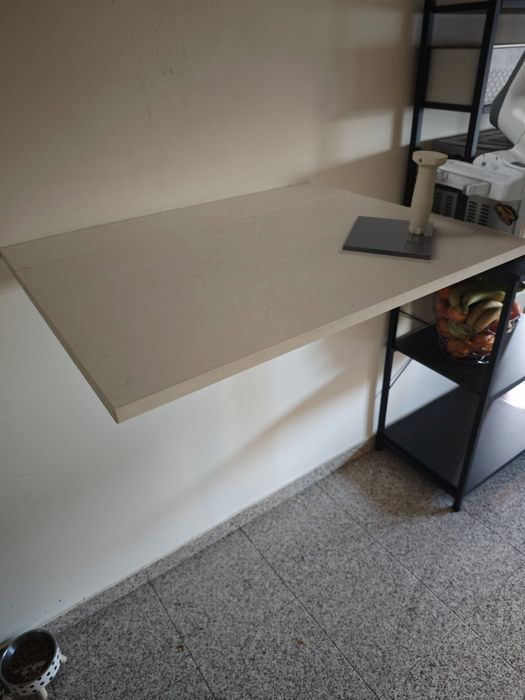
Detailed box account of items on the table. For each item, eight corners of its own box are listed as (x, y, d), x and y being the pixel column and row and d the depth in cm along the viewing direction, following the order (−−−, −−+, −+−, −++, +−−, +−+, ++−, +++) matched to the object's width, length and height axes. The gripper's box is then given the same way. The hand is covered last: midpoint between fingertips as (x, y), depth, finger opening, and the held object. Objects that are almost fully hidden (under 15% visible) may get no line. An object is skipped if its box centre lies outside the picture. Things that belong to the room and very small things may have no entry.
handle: (413, 225, 104) (426, 149, 95) (437, 234, 99) (453, 155, 91) (396, 230, 101) (408, 152, 93) (420, 239, 97) (434, 159, 89)
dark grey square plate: (433, 227, 106) (433, 222, 105) (429, 259, 91) (430, 254, 91) (357, 219, 110) (358, 215, 109) (342, 249, 95) (343, 245, 95)
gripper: (454, 149, 110) (409, 157, 104) (539, 169, 96) (493, 180, 89) (448, 178, 113) (404, 188, 107) (530, 202, 99) (485, 214, 93)
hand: (445, 184), depth 98 cm, fingers open, 8 cm apart
